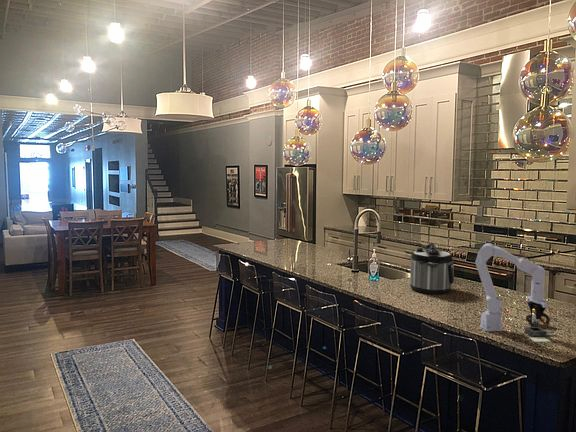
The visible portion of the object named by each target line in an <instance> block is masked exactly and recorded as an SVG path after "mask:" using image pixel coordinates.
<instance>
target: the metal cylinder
mask: <svg viewBox="0 0 576 432" xmlns="http://www.w3.org/2000/svg"><path fill="white" fill-rule="evenodd" d="M532 324H534V325H538V324H540V321H539V319H536V314H535V308H532Z"/></svg>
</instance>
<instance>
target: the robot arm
mask: <svg viewBox="0 0 576 432" xmlns="http://www.w3.org/2000/svg"><path fill="white" fill-rule="evenodd" d="M491 257H494V258H498V257H501V258H503V259H504V260H506V261H508V262H511V263H512V264H514V265H516V269H519V270H520V271H522V272H524V273H525V274H528V275H531V277H532V279H531V283H530V284H531V285H530V286H531V287H530V295H526V300H527V301H528V302H527V306H528V308H529V311H530V315H531V316H532V308H535V314H536V319H541V318H543V316H542V314H543V313H544V312H545V310H546V309H548V308H549V303H548V302H546V301H547V300H546V299H545V280H546V279H545V277H546V270H545V268H544V267H543V266H541V265H538V264H537V263H534V262H531V261H530V260H529V258H527V257H526V258H524V257H522V258H519V257H517V256H515V255H513V253H511V252H509V251H506V250H505V249H503V247H502V248H501V247H499V246H497V245H494V244H493V243H491V242H486V243H484V244H483V245H482V246H481V248H480V249H479V250H478V251H477V256H476V259H475V262H474V263H475V266H476V270H477V272H478V275H479V278H480V282H481V284H482V286H483V290H484V293H485V297H486V311H484V312H481V314H480V325H479V327H480V328H482V330H484V331H486V332H505V330H506V329H504V328H502V322H503V321H502V317H503V311H502V310H501V309H502V306H503V302H502V300H501V299H500V298H499V296H498V294H497V292H496V289H495V286H494V283H493V280H492V278H491V277H492V276H491V274H490V271H489V269H488V266H487V262H488V260H489V259H490V258H491Z"/></svg>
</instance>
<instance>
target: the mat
mask: <svg viewBox="0 0 576 432" xmlns="http://www.w3.org/2000/svg"><path fill="white" fill-rule="evenodd" d="M528 339H529V340H530V339H531V340H530V341H532V342H534V343H551V342H552V341H551V340H550V339H548V338H547V337H541V338H532V337H528Z"/></svg>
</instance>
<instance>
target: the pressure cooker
mask: <svg viewBox="0 0 576 432" xmlns="http://www.w3.org/2000/svg"><path fill="white" fill-rule="evenodd" d="M454 265H455V264H454V262H453V257H452V253H451V252H448V251H443V250H440V249H439V250H437V248H436V245H435V244H434V243H432V242H431V243H428V244H427V245H426V247H425V249H424V248H423V247H418V248H416V250H413V251H412V252H411V256H410V276H409V277H410V278H409V285H410V288H411V289H412V290H413V291H415V292H419V293H422V294H432V295H433V294H438V295H439V294H440V295H441V294H445V293H448V292H450V290H451V288H452V285H453V283H454V282H455V271H454V269H455V268H454Z"/></svg>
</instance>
